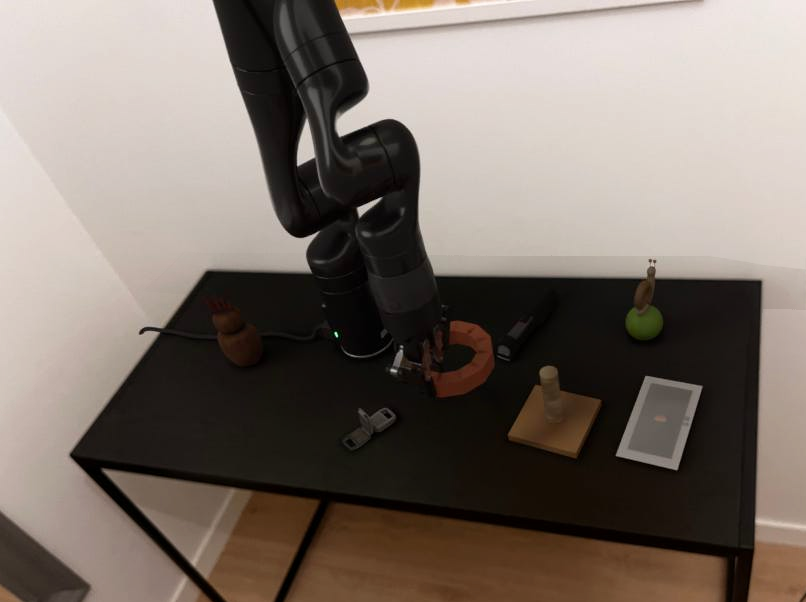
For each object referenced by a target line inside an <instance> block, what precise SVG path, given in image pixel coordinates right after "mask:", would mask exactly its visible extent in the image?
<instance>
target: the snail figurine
mask: <svg viewBox="0 0 806 602" xmlns="http://www.w3.org/2000/svg"><path fill="white" fill-rule="evenodd" d="M657 262H658V260H657V259H653V258H649V259H648V263H649V266H648V268H647V269H646V274H647V275H646V276H647V277H646V279H645V280H642V281H641V282H639V284H638V286H637V288H636V290H635V293H634V297H633V308H631V310H629V312H628V313H627V315H626V318H625V328H626V330H627V332H628V334H629V335H630V336H631V337H633V338H634V339H635V340H637V341H638V340H639V341H650V340H653V339H654V338H656V337H657V336H659V334H660V333H661V331H662V330H663V327H664V326H663V325H664V319H663V315H662V313H661V312H660V311H659V309H658V308H656V307H655V306H653V305H651V304H652V300H653V298H654V293H655V286H656V273H657V269H656V263H657ZM651 263H653V265H654V266H652V264H651Z"/></svg>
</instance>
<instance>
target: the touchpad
mask: <svg viewBox="0 0 806 602" xmlns="http://www.w3.org/2000/svg"><path fill="white" fill-rule="evenodd" d="M703 387H704V386H703V385H698V384H693V383H688V382H681V381H677V380H671V379H664V378H659V377H654V376H648V375H645V377H644V380H643V382H642V385H641V387H640V390H639V393H638V395H637V398H636V401H635V403H634V405H633V409H632V411H631V414H630V416H629V419H628V421H627V424H626V428H625V430H624V433H623V435H622V437H621V441H620V443H619V446H618V448H617V450H616V454H615V457H618V458H623V459H628V460H632V461H636V462H641V463H644V464H649V465H653V466H656V467H661V468H664V469H665V468H666V469H670V470H674V471H678V470H679V466H680V462H681V460H682V457H683V453H684V449H685V446H686V443H687V439H688V436H689V433H690V430H691V427H692V423H693V419H694V417H695V413H696V411H697V410H696V409H697V406H698V403H699V400H700V397H701V393H702V390H703Z"/></svg>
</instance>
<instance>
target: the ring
mask: <svg viewBox="0 0 806 602" xmlns="http://www.w3.org/2000/svg"><path fill="white" fill-rule="evenodd" d="M439 335H440V338H441V340H442V333H441V332H439ZM457 344H458V345H462V346H466V347H470V348H472V349H473V350H474V351H475V352H476V353H475V355H474V357H473V358H472V360H471V362H469V363H468V364H465V365H464V366H463V367H461V368H459V369H457V370H452V371H447V372H446V371H445V373H438V372H434V371H430V372H431V376H432V377H433V381H434V385H435V389H436V392H437V395H436V396H435V397H437V398H448V397H453V396H454V397H455V396H461V395H466V394H467V393H469V392H471V391H473V390H474V389H476V388H477V387H479V386H480V385H482V384H484V383H485V382H486V381H487V379H488V378H489V376H490V374H491V373H492V371H493V369H494V368H495V367H496V363H495V355H494V348H493V343H492V337H491V335H490V334H489V333H487V332H486V331H485V330H484V329H483V328H481V326H479V324H475V323H472V322H471V323H470V322H466V321H462V320H453V321H452V320H451V324H450V339H449V346H450V345H451V346H452V345H457ZM418 370H421V369H419V368H418ZM416 389H417V390H418V388H417V387H416Z"/></svg>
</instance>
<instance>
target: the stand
mask: <svg viewBox="0 0 806 602" xmlns="http://www.w3.org/2000/svg"><path fill="white" fill-rule="evenodd" d="M558 370H559V369H558V368H556V366H553V365H546V366H543V367H542V368H540V370H539V380H540V385H538V384H535V385H534V387H533V388H532V390H531V392H530V394H529V396H528V398H527V399H526V401H525V403H524V404H523V406H522V408H521V410H520V411H519V414H518V415H517V418H516V419H515V421H514V423H513V425H512V426H511V428H510V430H509V432H508V434H507V437H508V441H511V442H515V443H517V444H521V445H525V446H528V447H531V448H532V447H533V448H536V449H540V450H543V451H548V452H551V453H553V454H554V453H555V454H559V455H562V456H564V457H565V456H566V457H568V458H573V459H578V457H579V455H580V453H581V451H582V448H583V446H584V444H585V442H586V440H587V438H588V436H589V434H590V431H591V429H592V427H593V425H594V423H595V420H596V419H597V416H598V415H599V412H600V410H601V408H602V399H599V398H595V397H590V396H587V395H582V394H577V393H573V392H568V391H564V390H561V387H560V377H559V371H558Z"/></svg>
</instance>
